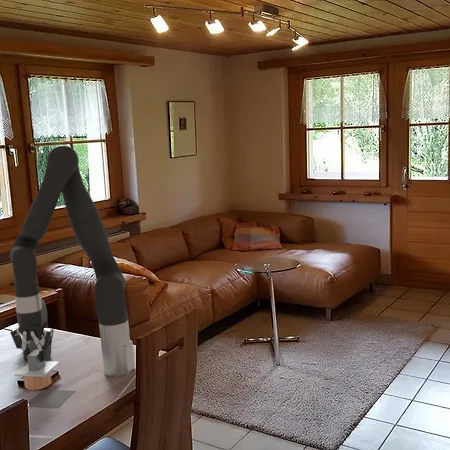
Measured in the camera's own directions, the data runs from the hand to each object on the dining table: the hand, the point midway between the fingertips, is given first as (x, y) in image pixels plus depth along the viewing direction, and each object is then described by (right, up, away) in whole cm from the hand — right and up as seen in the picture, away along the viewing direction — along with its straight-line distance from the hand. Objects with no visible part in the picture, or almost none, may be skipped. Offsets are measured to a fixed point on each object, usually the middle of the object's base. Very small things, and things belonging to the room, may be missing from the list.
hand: (35, 360), depth 184 cm
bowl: (+1, -8, +1) cm, 8 cm away
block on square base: (0, -3, +1) cm, 3 cm away
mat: (+7, -9, -9) cm, 15 cm away
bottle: (-6, -5, +23) cm, 24 cm away
